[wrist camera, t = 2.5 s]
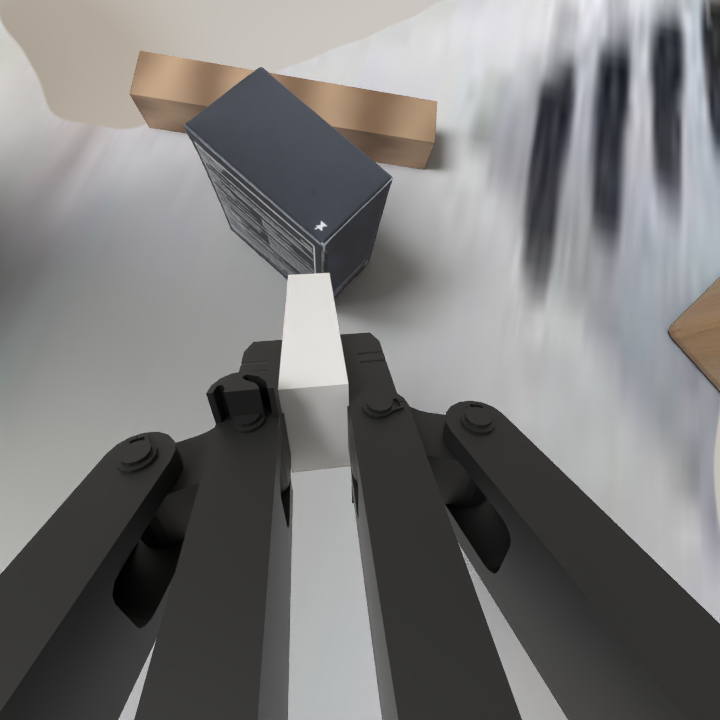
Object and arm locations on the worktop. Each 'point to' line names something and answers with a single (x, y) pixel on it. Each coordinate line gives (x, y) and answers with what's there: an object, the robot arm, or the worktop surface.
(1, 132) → the worktop surface
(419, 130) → the long brown wooden bar
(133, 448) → the robot arm
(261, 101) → the small box
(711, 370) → the wooden block
